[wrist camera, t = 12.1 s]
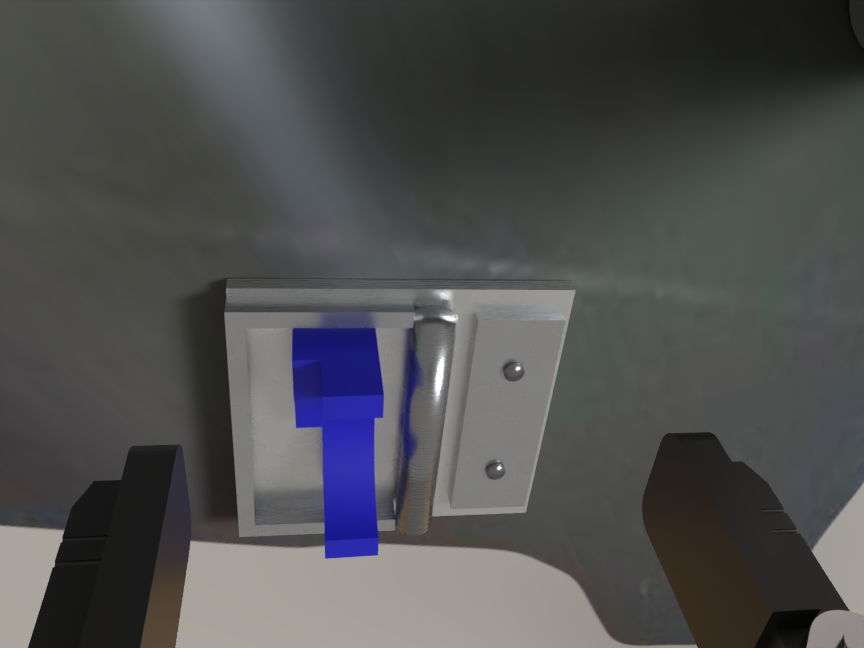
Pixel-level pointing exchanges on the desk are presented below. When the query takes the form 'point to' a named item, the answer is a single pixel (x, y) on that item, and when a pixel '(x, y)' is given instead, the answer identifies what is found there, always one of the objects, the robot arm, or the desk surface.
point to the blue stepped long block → (342, 428)
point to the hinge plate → (398, 395)
